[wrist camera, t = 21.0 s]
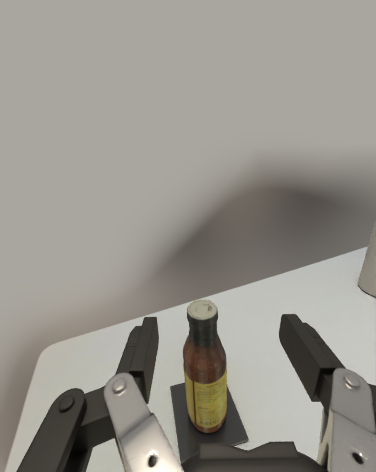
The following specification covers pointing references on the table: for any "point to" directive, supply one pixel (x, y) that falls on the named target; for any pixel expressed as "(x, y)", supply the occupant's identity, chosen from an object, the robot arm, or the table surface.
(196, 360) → the sauce bottle
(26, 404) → the table surface
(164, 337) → the table surface
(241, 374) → the table surface
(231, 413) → the slate coaster
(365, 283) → the cylinder vase
